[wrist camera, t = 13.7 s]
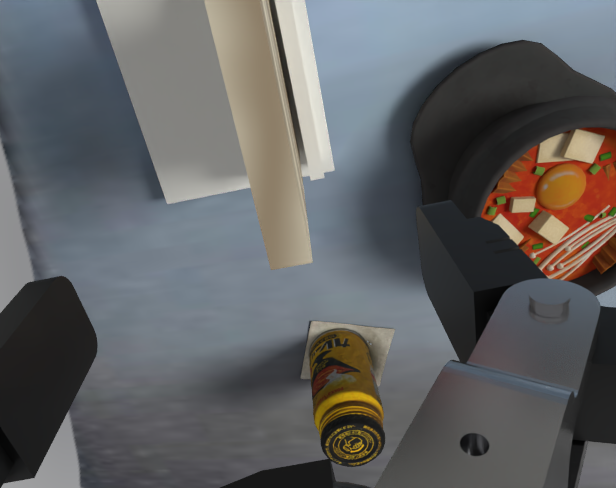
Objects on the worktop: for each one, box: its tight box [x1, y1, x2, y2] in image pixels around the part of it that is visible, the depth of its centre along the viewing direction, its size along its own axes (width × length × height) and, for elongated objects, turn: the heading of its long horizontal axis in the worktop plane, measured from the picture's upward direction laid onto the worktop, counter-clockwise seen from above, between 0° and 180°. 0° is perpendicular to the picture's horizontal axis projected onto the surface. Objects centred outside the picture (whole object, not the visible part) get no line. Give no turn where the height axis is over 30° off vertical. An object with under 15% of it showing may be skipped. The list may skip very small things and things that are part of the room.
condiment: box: [300, 321, 395, 467], centre depth 46 cm, size 7×8×12 cm
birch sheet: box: [204, 0, 313, 270], centre depth 29 cm, size 2×12×18 cm, turn 10°
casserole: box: [410, 40, 616, 296], centre depth 40 cm, size 25×19×8 cm
